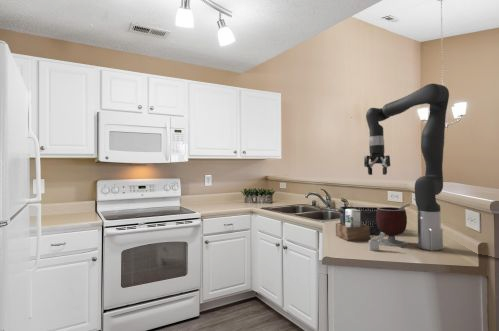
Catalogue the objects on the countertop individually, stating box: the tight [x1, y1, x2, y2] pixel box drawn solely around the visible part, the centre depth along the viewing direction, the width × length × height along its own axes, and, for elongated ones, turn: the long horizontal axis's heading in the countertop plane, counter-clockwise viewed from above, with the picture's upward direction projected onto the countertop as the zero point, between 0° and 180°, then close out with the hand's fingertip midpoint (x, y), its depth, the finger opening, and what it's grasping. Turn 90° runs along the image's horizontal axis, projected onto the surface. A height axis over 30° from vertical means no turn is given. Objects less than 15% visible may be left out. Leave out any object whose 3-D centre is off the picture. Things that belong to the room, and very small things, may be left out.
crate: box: [335, 222, 371, 242], centre depth 166 cm, size 13×13×7 cm
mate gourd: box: [376, 203, 411, 247], centre depth 153 cm, size 16×14×20 cm
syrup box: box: [345, 209, 360, 227], centre depth 166 cm, size 6×6×14 cm
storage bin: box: [339, 206, 381, 235], centre depth 186 cm, size 29×19×13 cm
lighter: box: [368, 232, 386, 251], centre depth 141 cm, size 7×2×8 cm, turn 92°
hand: (377, 174), depth 168 cm, fingers open, 8 cm apart
